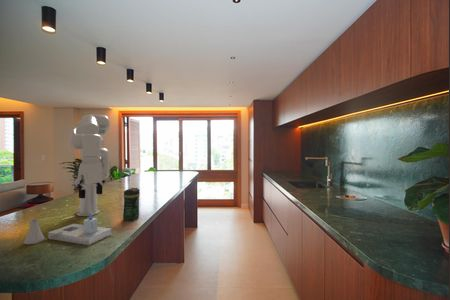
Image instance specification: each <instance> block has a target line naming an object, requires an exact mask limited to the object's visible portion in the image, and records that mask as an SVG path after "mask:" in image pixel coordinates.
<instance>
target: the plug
mask: <svg viewBox="0 0 450 300" xmlns="http://www.w3.org/2000/svg"><path fill="white" fill-rule="evenodd" d="M83 225H84V234H93V233H95V232H97V227H98V218H95V217H94V215H93V213H89V216H88V218H87V219H84V220H83Z"/></svg>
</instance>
